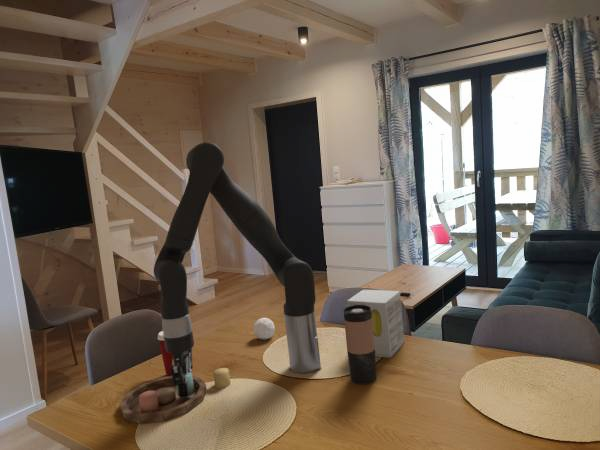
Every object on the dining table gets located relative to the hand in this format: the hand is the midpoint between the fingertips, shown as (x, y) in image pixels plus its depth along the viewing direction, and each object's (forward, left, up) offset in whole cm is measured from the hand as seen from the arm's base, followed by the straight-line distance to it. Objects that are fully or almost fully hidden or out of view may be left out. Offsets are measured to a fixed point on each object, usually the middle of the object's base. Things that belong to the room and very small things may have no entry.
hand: (186, 391), depth 123 cm
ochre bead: (-9, -6, -3) cm, 11 cm away
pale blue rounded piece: (0, 0, 0) cm, 0 cm away
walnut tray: (+6, 0, -3) cm, 7 cm away
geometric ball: (-19, -42, -3) cm, 46 cm away
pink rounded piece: (+8, +6, -2) cm, 10 cm away
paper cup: (+8, -19, -3) cm, 21 cm away
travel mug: (-49, -2, -3) cm, 49 cm away
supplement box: (-57, -22, -3) cm, 61 cm away
